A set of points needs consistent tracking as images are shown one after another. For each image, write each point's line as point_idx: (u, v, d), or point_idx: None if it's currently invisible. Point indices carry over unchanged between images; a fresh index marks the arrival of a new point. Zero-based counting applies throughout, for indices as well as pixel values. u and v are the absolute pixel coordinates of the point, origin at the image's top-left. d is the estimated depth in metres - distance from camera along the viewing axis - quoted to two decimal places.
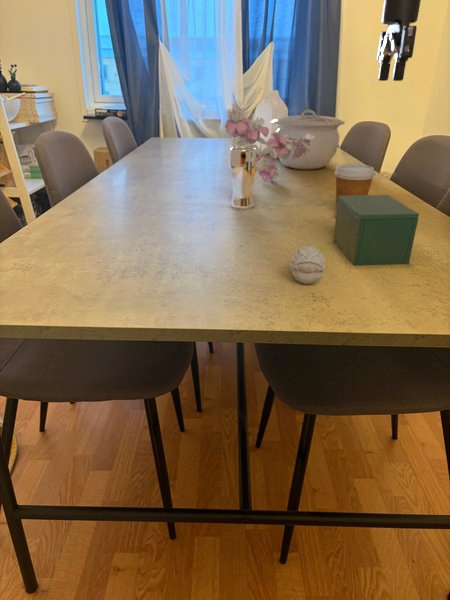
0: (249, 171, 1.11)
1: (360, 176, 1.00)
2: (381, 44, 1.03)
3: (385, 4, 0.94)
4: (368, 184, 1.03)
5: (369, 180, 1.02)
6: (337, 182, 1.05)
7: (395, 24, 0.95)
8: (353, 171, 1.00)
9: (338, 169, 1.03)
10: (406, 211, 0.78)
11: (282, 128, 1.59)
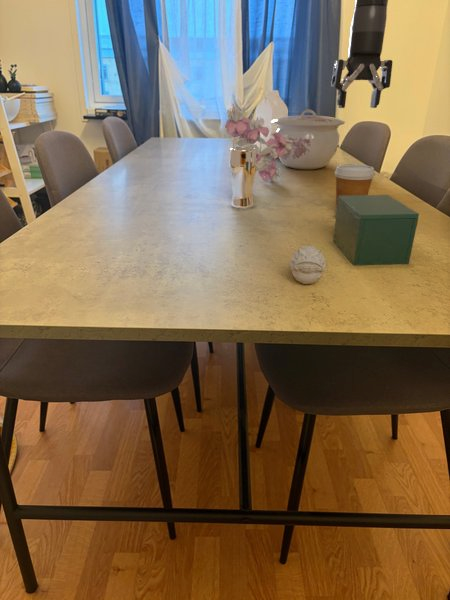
0: (249, 171, 1.11)
1: (360, 176, 1.00)
2: (382, 72, 1.05)
3: None
4: (368, 184, 1.03)
5: (369, 180, 1.02)
6: (337, 182, 1.05)
7: None
8: (353, 171, 1.00)
9: (338, 169, 1.03)
10: (406, 211, 0.78)
11: (282, 128, 1.59)
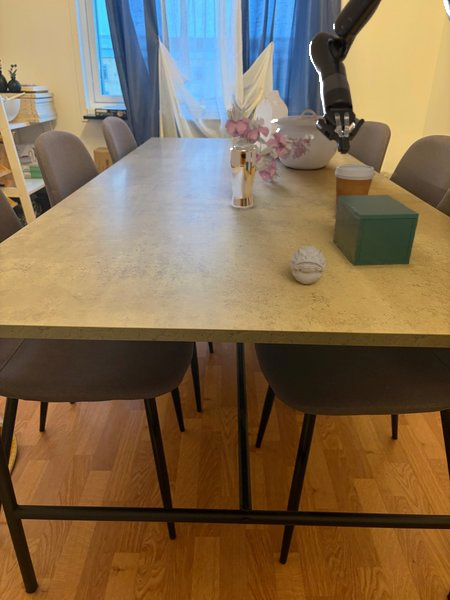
0: (249, 171, 1.11)
1: (360, 176, 1.00)
2: None
3: None
4: (368, 184, 1.03)
5: (369, 180, 1.02)
6: (337, 182, 1.05)
7: None
8: (353, 171, 1.00)
9: (338, 169, 1.03)
10: (406, 211, 0.78)
11: (282, 128, 1.59)
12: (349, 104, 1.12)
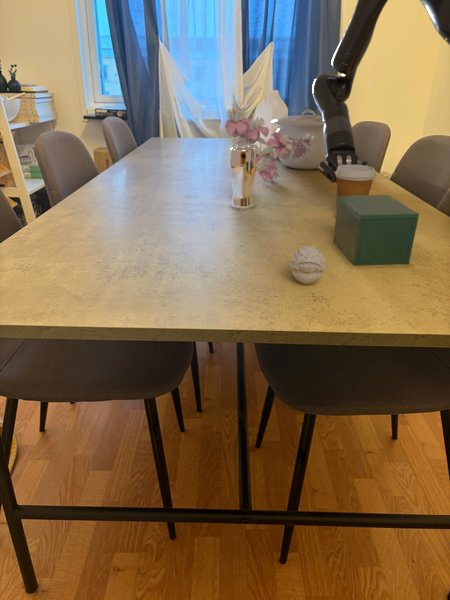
0: (249, 171, 1.11)
1: (361, 177, 1.00)
2: None
3: None
4: (369, 185, 1.02)
5: (370, 181, 1.02)
6: (338, 183, 1.04)
7: None
8: (354, 172, 1.00)
9: (339, 169, 1.03)
10: (406, 211, 0.78)
11: (282, 128, 1.59)
12: (351, 147, 1.12)
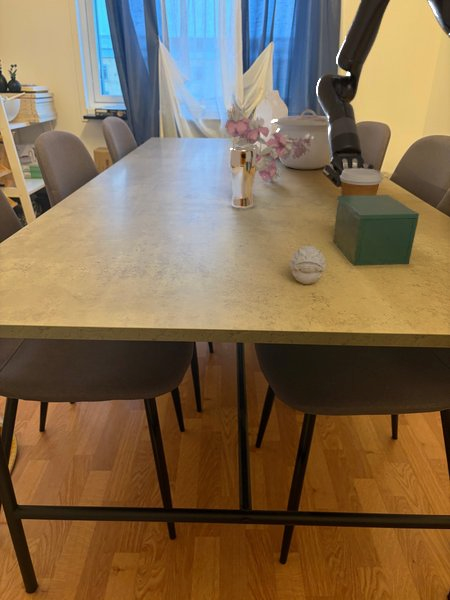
0: (249, 171, 1.11)
1: (366, 181, 0.95)
2: None
3: None
4: (375, 189, 0.98)
5: (376, 185, 0.97)
6: (342, 187, 1.00)
7: None
8: (359, 176, 0.96)
9: (343, 173, 0.99)
10: (406, 211, 0.78)
11: (282, 128, 1.59)
12: (357, 150, 1.08)
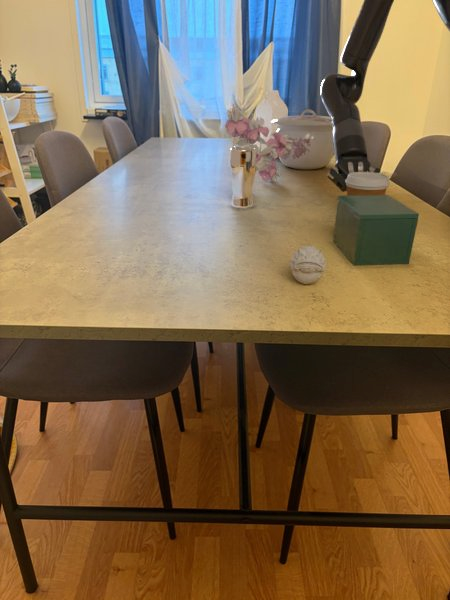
0: (249, 171, 1.11)
1: (372, 186, 0.91)
2: None
3: None
4: (381, 194, 0.94)
5: (383, 190, 0.93)
6: (347, 191, 0.96)
7: None
8: (364, 180, 0.92)
9: (349, 177, 0.95)
10: (406, 211, 0.78)
11: (282, 128, 1.59)
12: (363, 153, 1.04)
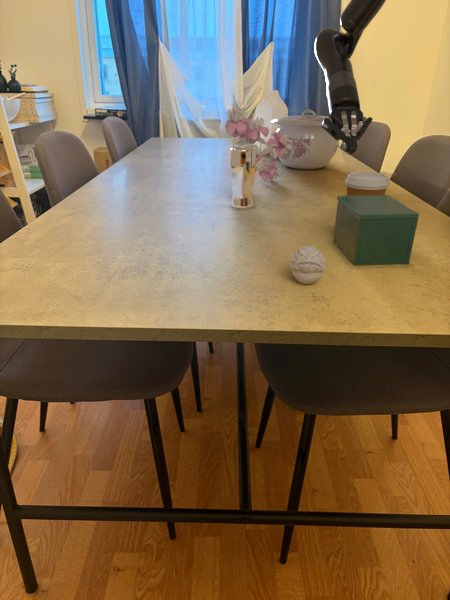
0: (249, 171, 1.11)
1: (372, 186, 0.91)
2: None
3: None
4: (381, 194, 0.94)
5: (382, 190, 0.93)
6: (347, 191, 0.96)
7: None
8: (364, 180, 0.92)
9: (349, 177, 0.95)
10: (406, 211, 0.78)
11: (282, 128, 1.59)
12: (356, 102, 1.07)
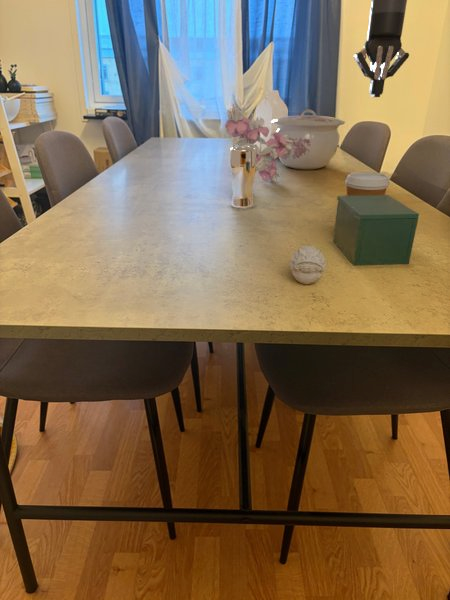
0: (249, 171, 1.11)
1: (372, 186, 0.91)
2: None
3: None
4: (381, 194, 0.94)
5: (382, 190, 0.93)
6: (347, 191, 0.96)
7: None
8: (364, 180, 0.92)
9: (349, 177, 0.95)
10: (406, 211, 0.78)
11: (282, 128, 1.59)
12: (397, 35, 0.97)
